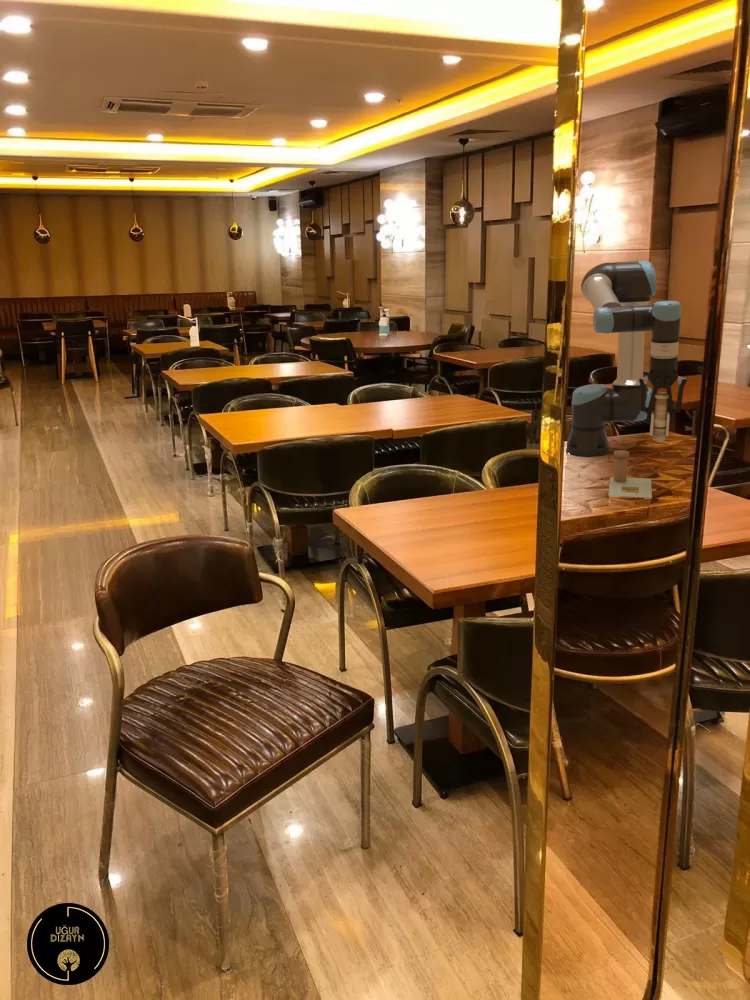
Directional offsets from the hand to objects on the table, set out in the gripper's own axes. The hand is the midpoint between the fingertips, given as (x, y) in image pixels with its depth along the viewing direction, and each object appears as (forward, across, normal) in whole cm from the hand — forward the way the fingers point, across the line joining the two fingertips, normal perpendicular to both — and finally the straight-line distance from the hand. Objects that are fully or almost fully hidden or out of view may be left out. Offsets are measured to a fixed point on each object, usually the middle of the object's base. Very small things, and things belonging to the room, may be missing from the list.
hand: (659, 434), depth 243 cm
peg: (+2, 0, 0) cm, 2 cm away
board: (+18, -8, -9) cm, 21 cm away
